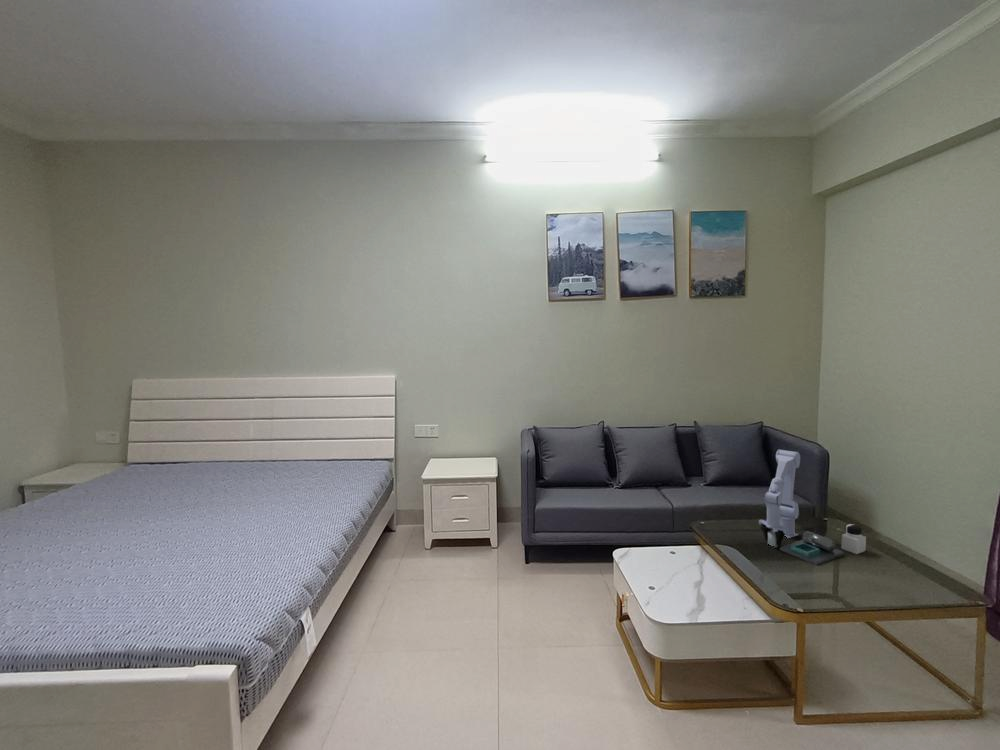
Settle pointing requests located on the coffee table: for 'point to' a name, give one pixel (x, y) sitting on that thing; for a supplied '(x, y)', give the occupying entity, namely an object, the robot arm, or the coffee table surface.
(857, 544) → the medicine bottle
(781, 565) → the coffee table surface
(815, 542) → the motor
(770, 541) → the white rounded cylinder
